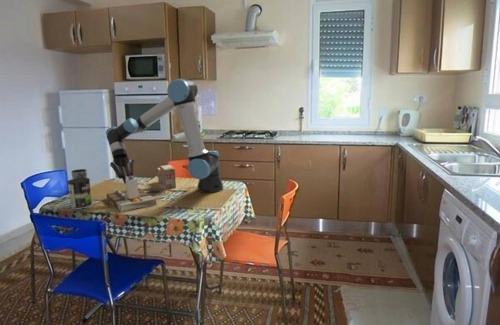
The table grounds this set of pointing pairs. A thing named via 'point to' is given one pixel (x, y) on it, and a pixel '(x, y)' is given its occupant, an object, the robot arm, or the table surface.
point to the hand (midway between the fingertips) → (129, 187)
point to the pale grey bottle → (132, 187)
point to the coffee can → (80, 193)
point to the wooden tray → (130, 200)
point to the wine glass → (79, 173)
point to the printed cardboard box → (166, 176)
